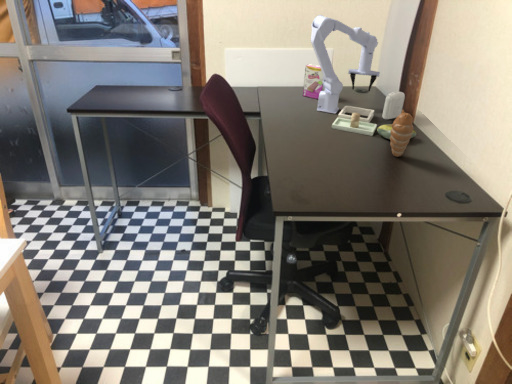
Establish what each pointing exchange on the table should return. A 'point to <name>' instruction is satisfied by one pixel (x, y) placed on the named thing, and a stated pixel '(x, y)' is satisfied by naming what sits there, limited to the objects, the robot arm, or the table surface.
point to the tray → (362, 128)
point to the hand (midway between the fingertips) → (361, 89)
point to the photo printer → (393, 105)
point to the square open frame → (356, 110)
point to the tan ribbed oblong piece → (401, 133)
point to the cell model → (389, 131)
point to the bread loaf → (355, 120)
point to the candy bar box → (313, 81)
